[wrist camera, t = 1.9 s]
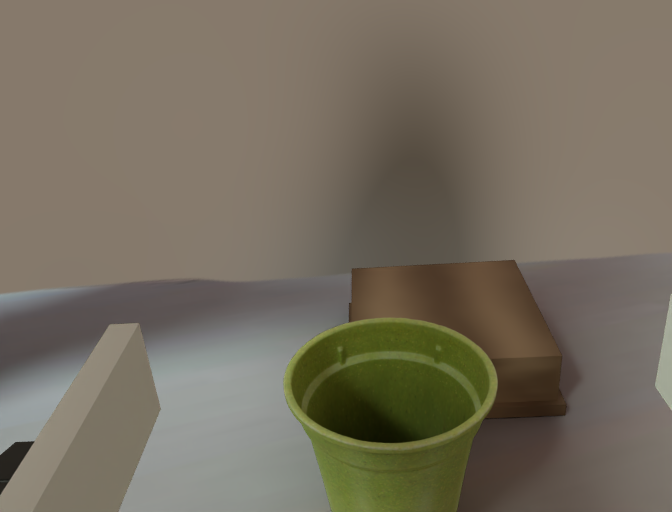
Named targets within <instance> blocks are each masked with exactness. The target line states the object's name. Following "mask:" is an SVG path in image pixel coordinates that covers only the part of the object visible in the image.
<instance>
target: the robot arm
mask: <svg viewBox="0 0 672 512" xmlns="http://www.w3.org/2000/svg"><path fill="white" fill-rule="evenodd" d="M655 387H656V388H657V390H658V391H659V393H660V394H661V396H662V397H663V399H664V400H665V402H666V403H667V405H668V406H669V408H670V409H671V410H672V294H671V297H670V303H669V308H668V314H667V320H666V325H665V331H664V337H663V343H662V348H661V354H660V360H659V365H658V371H657V377H656V383H655ZM160 410H161V408H160V404H159V400H158V396H157V392H156V388H155V384H154V380H153V376H152V372H151V368H150V364H149V360H148V356H147V352H146V348H145V344H144V340H143V336H142V332H141V328H140V324H139V323H128V324H110V325H109V326H108V328H107V329H106V331H105V333H104V334H103V336H102V337H101V339H100V340H99V342H98V343H97V345H96V347H95V348H94V350H93V351H92V353H91V354H90V356H89V358H88V359H87V361H86V362H85V364H84V365H83V367H82V368H81V370H80V372H79V373H78V375H77V376H76V378H75V379H74V381H73V382H72V384H71V386H70V387H69V389H68V390H67V392H66V393H65V395H64V397H63V398H62V400H61V401H60V403H59V404H58V406H57V407H56V409H55V411H54V412H53V414H52V415H51V417H50V418H49V420H48V421H47V423H46V425H45V426H44V428H43V429H42V431H41V432H40V434H39V436H38V437H37V439H36V440H35V441H31V442H15V443H14V444H13V445H12V446H11V447H9V448H8V449H7V450H6V451H5V452H3V453H2V454H1V455H0V512H118V511H119V509H120V506H121V504H122V501H123V499H124V496H125V494H126V492H127V489H128V487H129V484H130V482H131V480H132V477H133V475H134V472H135V470H136V468H137V465H138V463H139V460H140V458H141V455H142V453H143V451H144V448H145V446H146V443H147V441H148V439H149V436H150V434H151V431H152V429H153V426H154V424H155V422H156V419H157V417H158V414H159V412H160Z"/></svg>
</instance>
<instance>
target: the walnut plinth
mask: <svg viewBox="0 0 672 512" xmlns="http://www.w3.org/2000/svg"><path fill="white" fill-rule="evenodd" d="M374 318H407V319H414V320H421V321H426V322H430V323H434V324H437V325H441V326H444V327H447V328H449V329H452V330H454V331H456V332H458V333H460V334H462V335H463V336H465V337H467V338H468V339H470V340H471V341H472V342H474V343H475V344H476V345H478V346H479V347H480V348H481V349H482V350H483V351H484V352H485V353H486V354H487V356H488V357H489V358H490V360H491V362H492V363H493V366H494V367H495V370H496V374H497V380H498V386H497V394H496V398H495V401H494V404H493V406H492V408H491V410H490V411H489V413H488V414H487V416H486V417H485V418H508V417H533V416H558V415H565V413H566V402H565V400H564V398H563V396H562V394H561V391H560V389H559V381H560V372H561V362H562V354H561V352H560V350H559V348H558V346H557V344H556V342H555V340H554V338H553V336H552V334H551V332H550V330H549V328H548V326H547V324H546V322H545V320H544V318H543V316H542V314H541V312H540V310H539V308H538V306H537V304H536V302H535V300H534V298H533V296H532V294H531V292H530V290H529V288H528V286H527V284H526V282H525V280H524V278H523V276H522V274H521V272H520V270H519V268H518V266H517V264H516V262H515V260H508V261H488V262H469V263H453V264H452V263H451V264H432V265H413V266H395V267H376V268H357V269H352V303H349V322H355V321H360V320H366V319H374Z"/></svg>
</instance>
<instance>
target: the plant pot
mask: <svg viewBox="0 0 672 512" xmlns="http://www.w3.org/2000/svg"><path fill="white" fill-rule="evenodd" d="M283 385H284V393H285V398H286V401H287V404H288V406H289V408H290V410H291V412H292V413H293V415H294V416H295V417H296V419H297V420H298V421H299V422H300V423H301V424H302V426H303V428H304V430H305V432H306V433H307V435H308V436H309V438H310V439H311V441H312V445H313V448H314V451H315V455H316V458H317V461H318V465H319V468H320V471H321V475H322V478H323V482H324V485H325V489H326V493H327V496H328V500H329V503H330V507H331V511H332V512H457V508H458V503H459V498H460V493H461V488H462V484H463V479H464V474H465V470H466V466H467V462H468V458H469V454H470V450H471V446H472V442H473V438H474V436H475V435H476V433H477V432H478V430H479V428H480V426H481V423H482V420H483V419H484V418H485V417H486V416H487V414H488V413H489V411H490V410H491V408H492V406H493V404H494V401H495V398H496V394H497V386H498V380H497V374H496V370H495V367H494V366H493V363H492V362H491V360H490V358H489V357H488V356H487V354H486V353H485V352H484V351H483V350H482V349H481V348H480V347H479V346H478V345H476V344H475V343H474V342H472V341H471V340H470V339H468V338H467V337H465V336H463V335H462V334H460V333H458V332H456V331H454V330H452V329H449V328H447V327H444V326H441V325H437V324H434V323H430V322H426V321H421V320H414V319H407V318H374V319H366V320H360V321H355V322H349V323H346V324H342V325H339V326H337V327H334V328H331V329H329V330H326V331H324V332H322V333H321V334H319V335H317V336H316V337H314V338H313V339H311V340H310V341H308V342H307V343H306V344H305V345H304V346H302V347H301V348H300V349H299V350H298V351H297V353H296V354H295V355H294V356H293V358H292V359H291V361H290V363H289V364H288V366H287V369H286V372H285V375H284V381H283Z"/></svg>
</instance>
